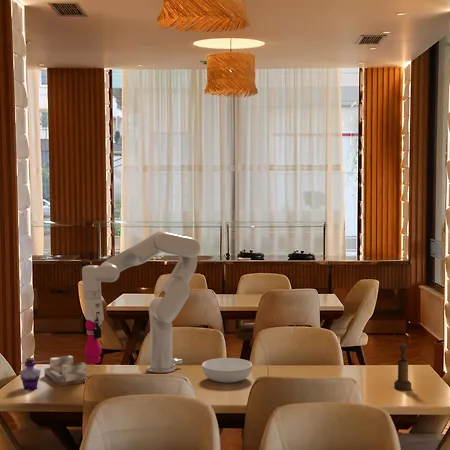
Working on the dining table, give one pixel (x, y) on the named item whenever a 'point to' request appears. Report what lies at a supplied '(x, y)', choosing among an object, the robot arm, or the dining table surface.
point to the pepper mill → (92, 345)
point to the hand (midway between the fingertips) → (94, 336)
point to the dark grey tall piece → (402, 371)
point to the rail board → (65, 371)
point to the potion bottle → (30, 375)
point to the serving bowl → (227, 369)
